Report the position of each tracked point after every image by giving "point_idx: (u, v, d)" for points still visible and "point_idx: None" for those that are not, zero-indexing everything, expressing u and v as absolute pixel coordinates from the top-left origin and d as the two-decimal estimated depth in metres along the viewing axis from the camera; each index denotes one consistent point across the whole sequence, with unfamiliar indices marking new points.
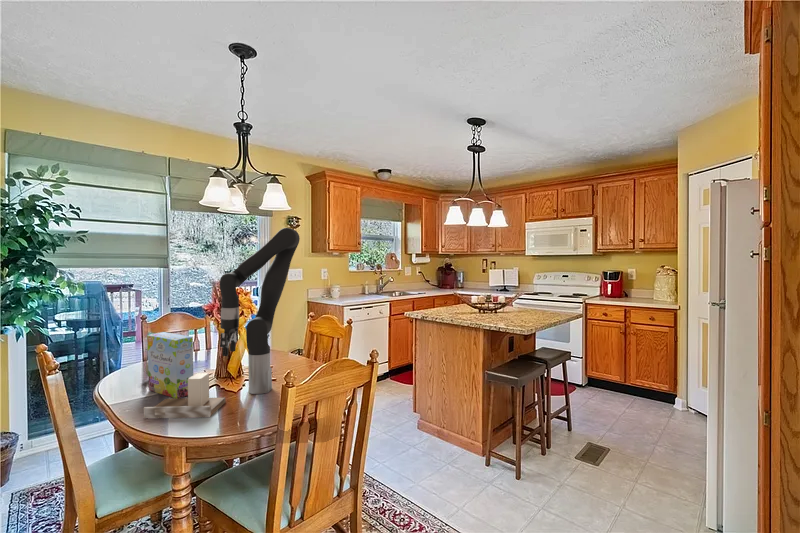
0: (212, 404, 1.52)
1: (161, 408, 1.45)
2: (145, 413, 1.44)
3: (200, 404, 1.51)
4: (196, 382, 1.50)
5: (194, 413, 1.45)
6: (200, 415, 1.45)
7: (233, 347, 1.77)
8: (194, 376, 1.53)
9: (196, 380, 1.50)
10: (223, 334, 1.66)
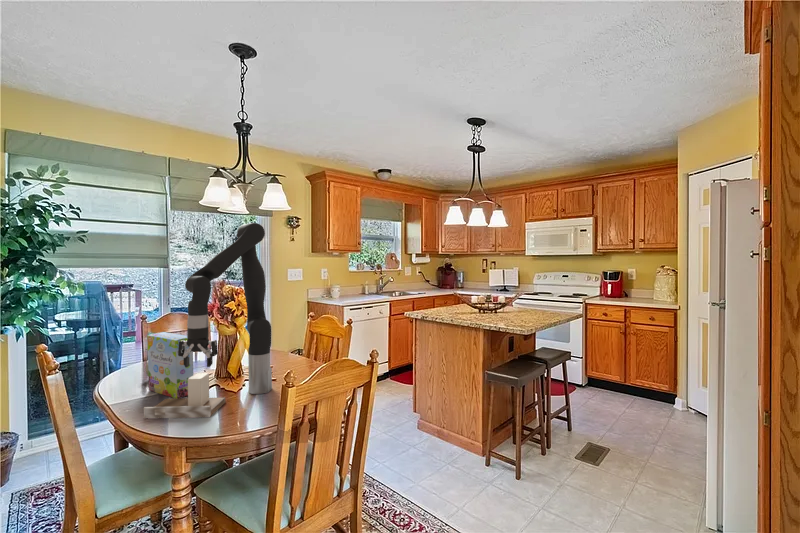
0: (212, 404, 1.52)
1: (161, 408, 1.45)
2: (145, 413, 1.44)
3: (200, 404, 1.51)
4: (196, 382, 1.50)
5: (194, 413, 1.45)
6: (200, 415, 1.45)
7: (188, 361, 1.54)
8: (194, 376, 1.53)
9: (196, 380, 1.50)
10: (215, 341, 1.54)
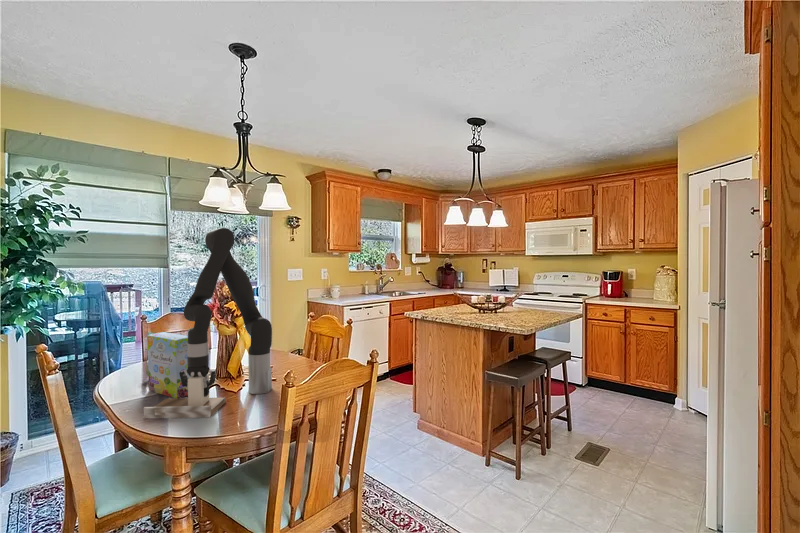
0: (212, 404, 1.52)
1: (161, 408, 1.45)
2: (145, 413, 1.44)
3: (200, 404, 1.51)
4: (196, 382, 1.50)
5: (194, 413, 1.45)
6: (200, 415, 1.45)
7: None
8: None
9: (196, 380, 1.50)
10: (215, 372, 1.54)
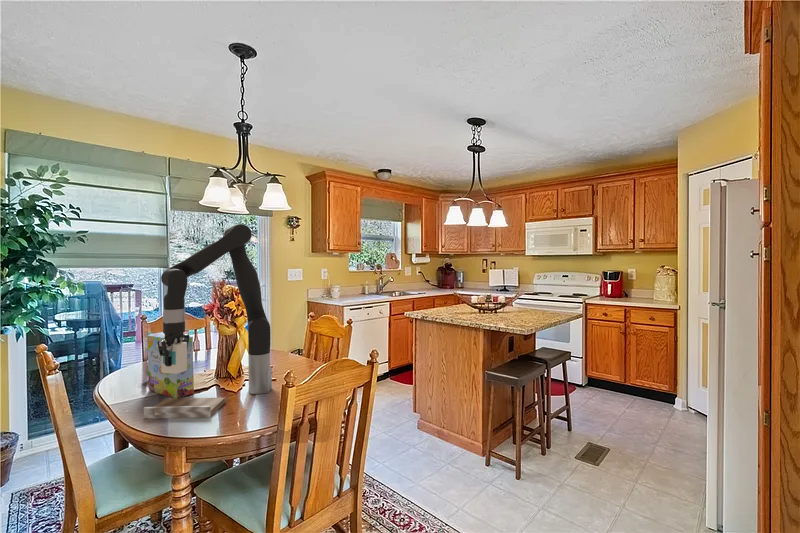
0: (212, 404, 1.52)
1: (161, 408, 1.45)
2: (145, 413, 1.44)
3: (186, 368, 1.52)
4: (183, 347, 1.50)
5: (194, 413, 1.45)
6: (200, 415, 1.45)
7: None
8: None
9: (183, 345, 1.50)
10: None
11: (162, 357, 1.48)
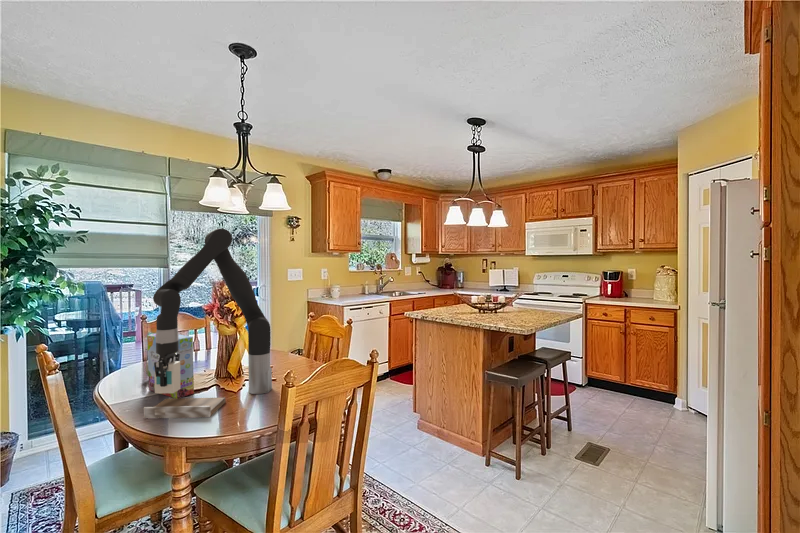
0: (212, 404, 1.52)
1: (161, 408, 1.45)
2: (145, 413, 1.44)
3: (179, 387, 1.52)
4: (177, 366, 1.51)
5: (194, 413, 1.45)
6: (200, 415, 1.45)
7: None
8: None
9: (178, 364, 1.51)
10: None
11: (155, 378, 1.47)
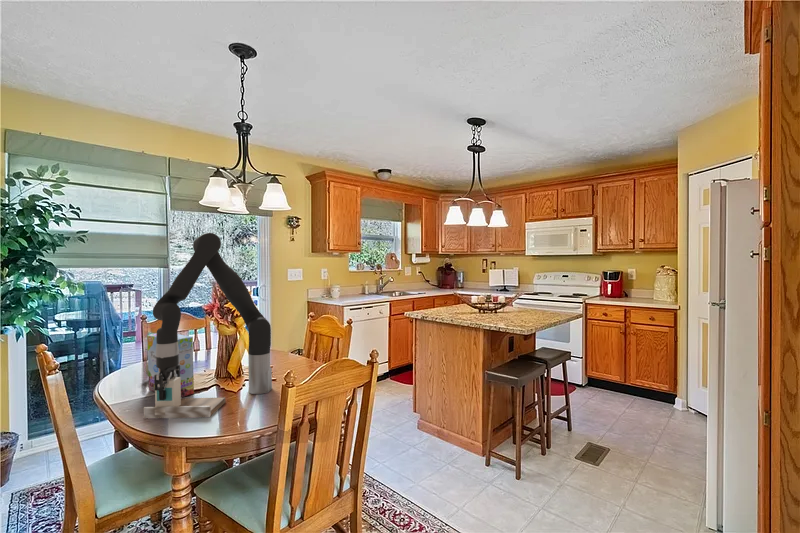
0: (212, 404, 1.52)
1: (161, 408, 1.45)
2: (145, 413, 1.44)
3: (180, 402, 1.52)
4: (178, 382, 1.51)
5: (194, 413, 1.45)
6: (200, 415, 1.45)
7: None
8: None
9: (178, 380, 1.51)
10: None
11: (156, 394, 1.47)
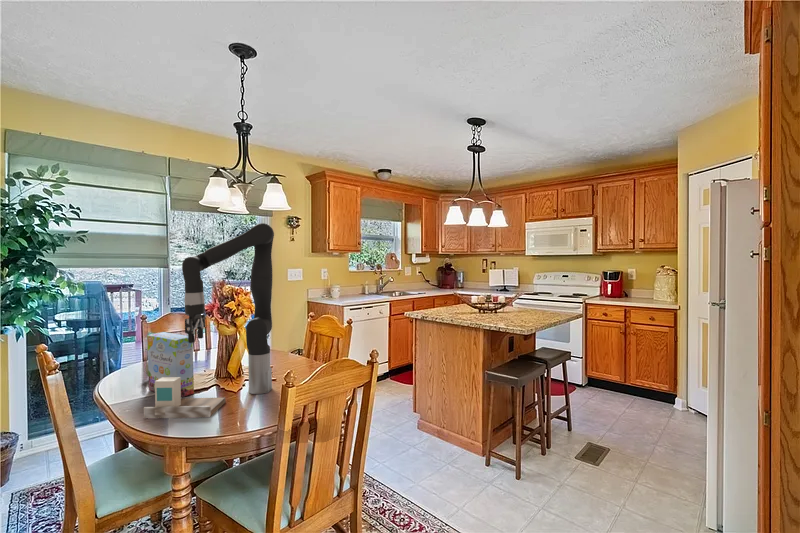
0: (212, 404, 1.52)
1: (161, 408, 1.45)
2: (145, 413, 1.44)
3: (180, 402, 1.52)
4: (178, 382, 1.51)
5: (194, 413, 1.45)
6: (200, 415, 1.45)
7: None
8: (167, 380, 1.49)
9: (178, 380, 1.51)
10: None
11: (156, 394, 1.47)
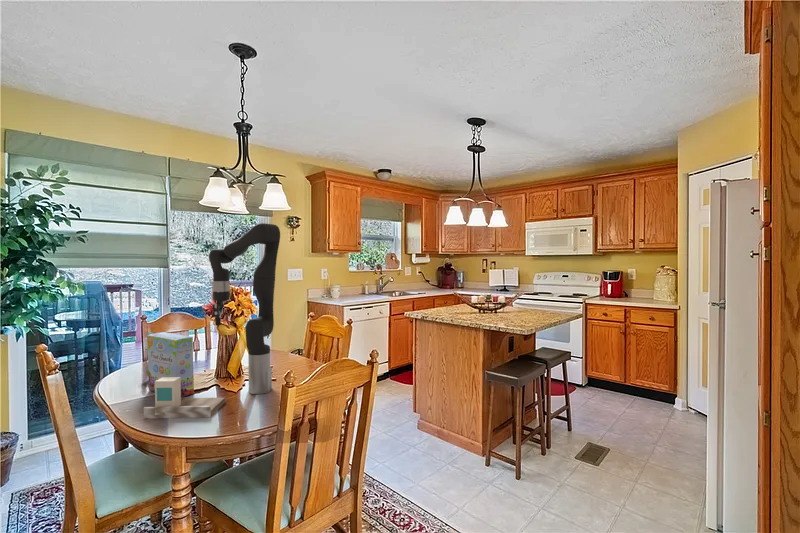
0: (212, 404, 1.52)
1: (161, 408, 1.45)
2: (145, 413, 1.44)
3: (180, 402, 1.52)
4: (178, 382, 1.51)
5: (194, 413, 1.45)
6: (200, 415, 1.45)
7: None
8: (167, 380, 1.49)
9: (178, 380, 1.51)
10: None
11: (156, 394, 1.47)
